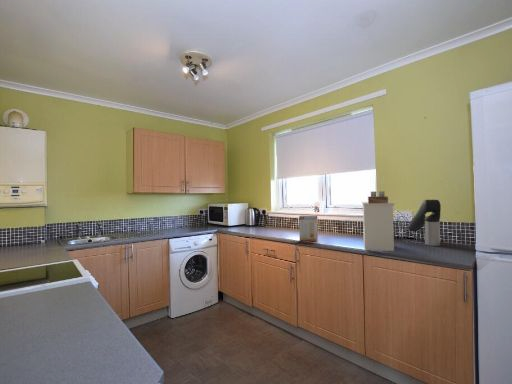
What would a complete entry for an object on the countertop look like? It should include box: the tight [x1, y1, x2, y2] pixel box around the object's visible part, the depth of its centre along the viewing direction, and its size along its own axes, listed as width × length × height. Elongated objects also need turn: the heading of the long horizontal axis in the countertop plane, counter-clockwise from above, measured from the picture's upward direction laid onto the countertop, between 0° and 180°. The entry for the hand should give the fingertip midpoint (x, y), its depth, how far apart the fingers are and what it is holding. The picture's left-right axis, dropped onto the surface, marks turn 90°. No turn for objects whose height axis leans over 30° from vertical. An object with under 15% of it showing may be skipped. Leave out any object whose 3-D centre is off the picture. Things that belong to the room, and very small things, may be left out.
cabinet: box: [361, 201, 395, 252], centre depth 198 cm, size 24×19×32 cm
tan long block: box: [367, 190, 389, 203], centre depth 203 cm, size 34×12×8 cm, turn 161°
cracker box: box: [298, 214, 319, 242], centre depth 229 cm, size 14×6×21 cm, turn 58°
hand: (373, 203), depth 221 cm, fingers open, 8 cm apart
